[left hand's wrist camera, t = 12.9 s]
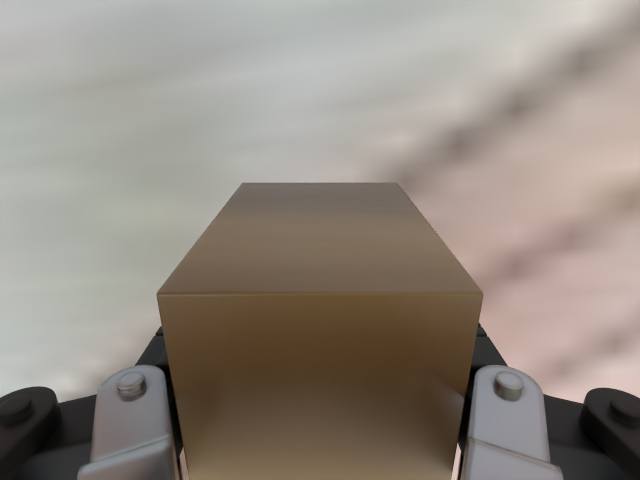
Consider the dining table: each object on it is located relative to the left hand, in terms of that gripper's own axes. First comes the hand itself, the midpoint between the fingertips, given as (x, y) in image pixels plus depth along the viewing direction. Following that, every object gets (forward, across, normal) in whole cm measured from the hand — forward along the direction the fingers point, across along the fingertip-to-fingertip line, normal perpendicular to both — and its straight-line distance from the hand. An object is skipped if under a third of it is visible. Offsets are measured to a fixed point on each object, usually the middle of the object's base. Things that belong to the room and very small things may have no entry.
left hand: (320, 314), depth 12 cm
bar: (+4, 0, +10) cm, 10 cm away
